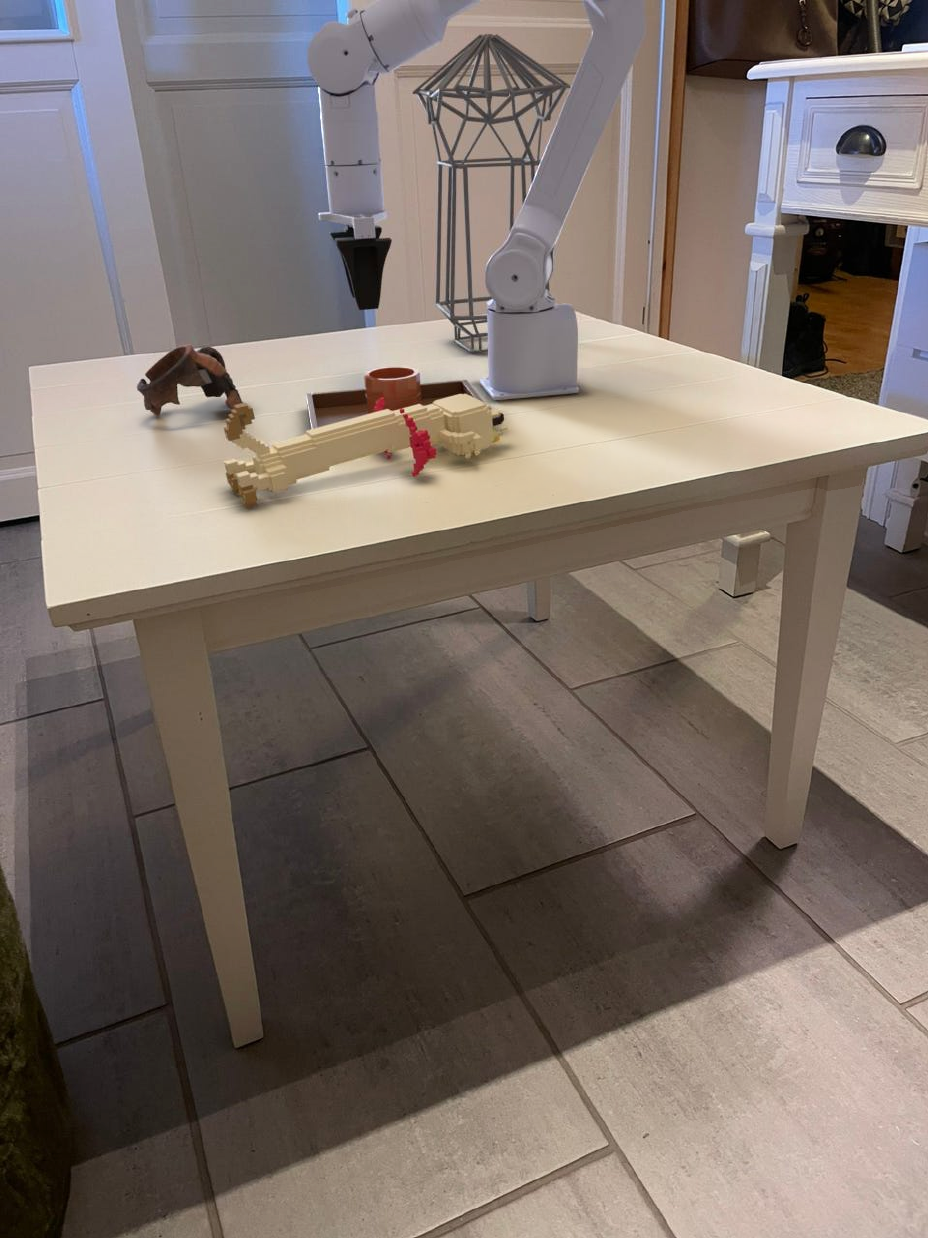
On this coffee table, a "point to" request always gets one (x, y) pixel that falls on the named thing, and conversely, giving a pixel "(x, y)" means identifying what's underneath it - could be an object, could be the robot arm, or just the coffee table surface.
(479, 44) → the geometric lantern
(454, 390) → the tray
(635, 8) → the robot arm
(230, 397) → the broken pottery shard
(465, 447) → the cat figure
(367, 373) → the cup
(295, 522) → the coffee table surface
